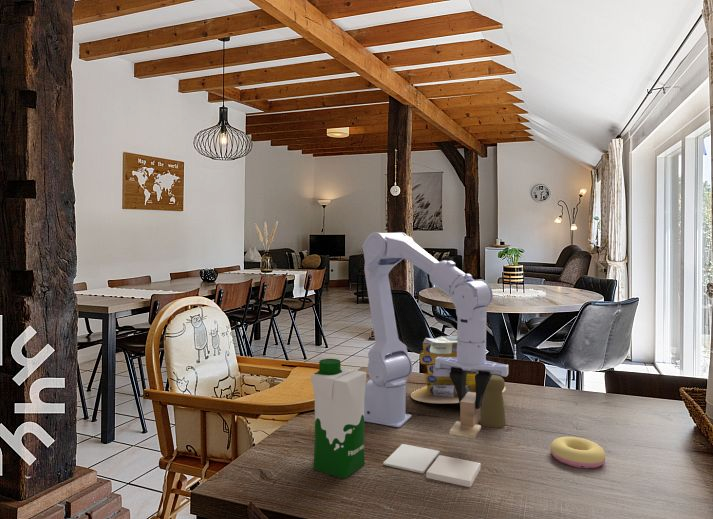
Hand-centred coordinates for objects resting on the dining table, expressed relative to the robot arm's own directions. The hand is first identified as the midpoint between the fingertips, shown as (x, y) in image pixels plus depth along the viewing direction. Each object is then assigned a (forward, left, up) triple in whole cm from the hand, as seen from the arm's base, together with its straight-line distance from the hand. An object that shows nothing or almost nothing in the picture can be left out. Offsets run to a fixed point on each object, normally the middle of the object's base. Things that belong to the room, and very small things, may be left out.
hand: (470, 406), depth 107 cm
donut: (+20, +5, -9) cm, 23 cm away
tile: (0, -8, -8) cm, 12 cm away
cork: (+1, +17, -9) cm, 19 cm away
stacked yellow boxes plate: (-11, +31, -9) cm, 34 cm away
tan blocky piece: (0, -1, -4) cm, 4 cm away
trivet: (-9, -10, -9) cm, 16 cm away
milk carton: (-20, -19, -9) cm, 29 cm away
